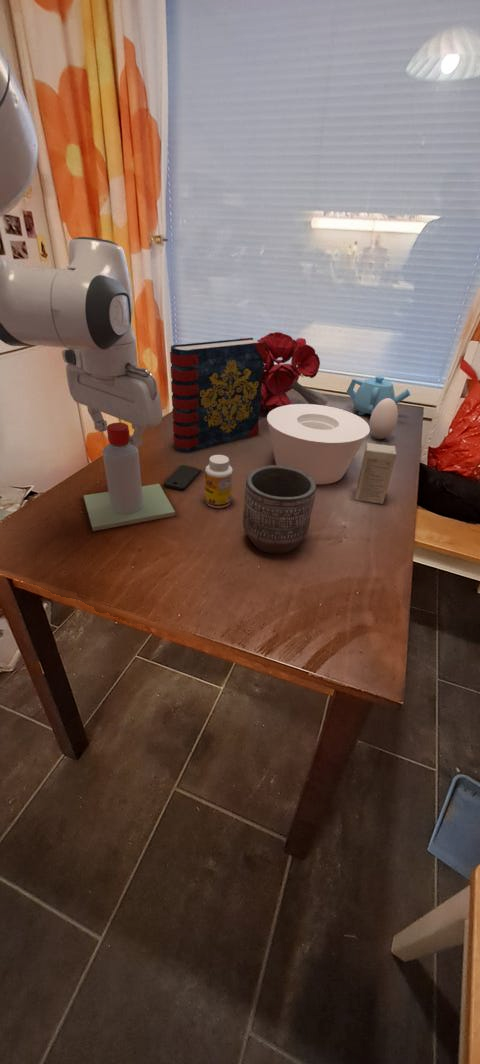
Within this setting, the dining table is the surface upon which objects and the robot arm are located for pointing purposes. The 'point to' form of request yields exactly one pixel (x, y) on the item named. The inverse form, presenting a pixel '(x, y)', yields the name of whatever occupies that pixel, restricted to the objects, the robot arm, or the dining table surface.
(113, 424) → the cap
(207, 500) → the supplement bottle
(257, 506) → the planter
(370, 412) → the teapot
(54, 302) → the robot arm
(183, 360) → the book
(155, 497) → the mat
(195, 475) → the black tag with hole
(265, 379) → the bouquet
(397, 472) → the dining table surface
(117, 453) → the bottle
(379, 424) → the egg
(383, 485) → the cosmetic box
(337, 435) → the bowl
